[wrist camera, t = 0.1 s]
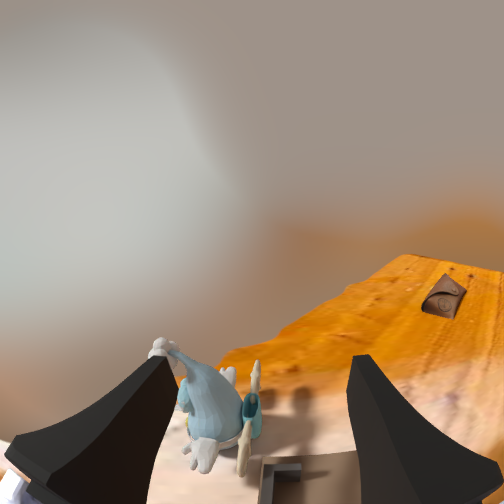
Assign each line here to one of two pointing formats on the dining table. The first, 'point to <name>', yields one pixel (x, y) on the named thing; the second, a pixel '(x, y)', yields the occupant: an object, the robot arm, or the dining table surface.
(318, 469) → the cradle jig
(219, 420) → the toy figure
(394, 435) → the robot arm
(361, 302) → the dining table surface
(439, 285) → the sunglasses case
